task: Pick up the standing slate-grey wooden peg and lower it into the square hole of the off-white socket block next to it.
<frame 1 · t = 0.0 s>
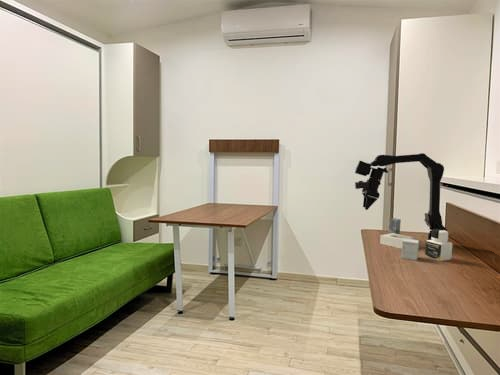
hand: (364, 208, 177), 15 cm above the table, tool pointing down, fingers open, 9 cm apart
peg: (393, 237, 182), on the table
product box: (409, 258, 145), on the table
socket block: (396, 244, 167), on the table
medicine bottle: (437, 258, 146), on the table
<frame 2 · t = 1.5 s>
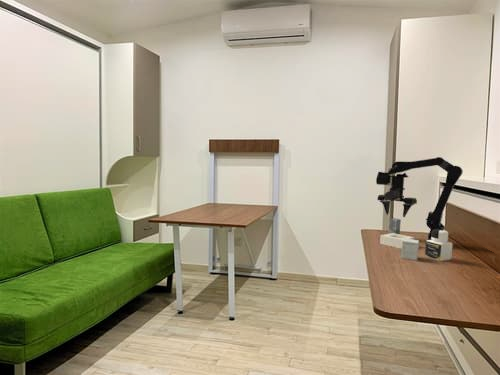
hand: (395, 215, 181), 12 cm above the table, tool pointing down, fingers open, 9 cm apart
nothing on the table moved.
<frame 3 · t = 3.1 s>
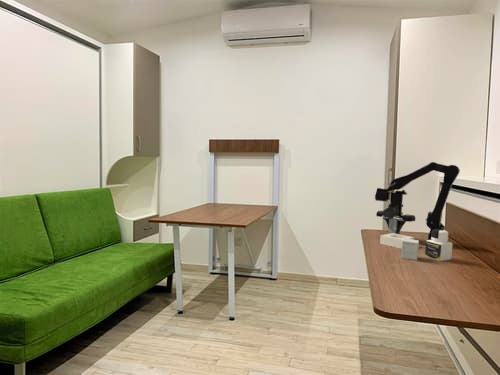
hand: (394, 232, 182), 3 cm above the table, tool pointing down, fingers closed on peg, 4 cm apart
peg: (393, 237, 182), on the table, touching gripper
everything else where it was.
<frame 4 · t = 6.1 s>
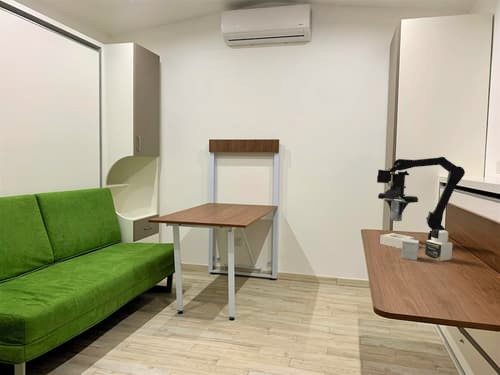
hand: (396, 214, 177), 13 cm above the table, tool pointing down, fingers closed on peg, 4 cm apart
peg: (395, 220, 178), point 10 cm above the table, touching gripper
everything else where it was.
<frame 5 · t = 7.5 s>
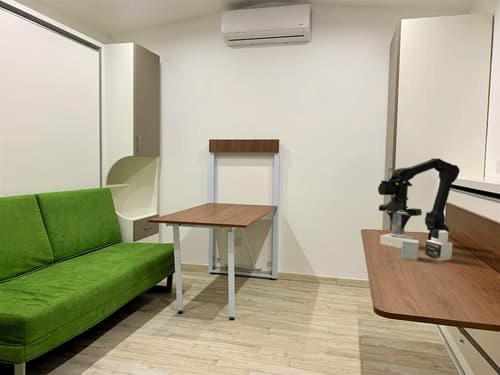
hand: (398, 227, 166), 8 cm above the table, tool pointing down, fingers closed on peg, 4 cm apart
peg: (397, 234, 167), point 5 cm above the table, touching gripper
everything else where it was.
when the fingers open (5 cm above the table, at t = 8.8 s): peg drops 2 cm, resting in socket block.
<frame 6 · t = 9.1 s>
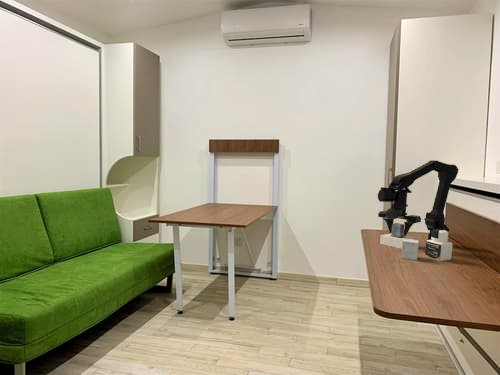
hand: (397, 234, 167), 5 cm above the table, tool pointing down, fingers open, 7 cm apart
peg: (396, 244, 167), resting in socket block
everything else where it was.
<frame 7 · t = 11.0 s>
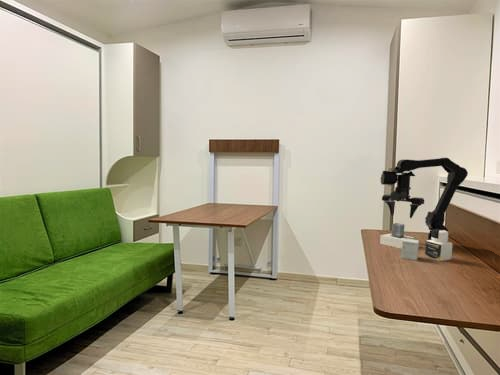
hand: (401, 216, 171), 13 cm above the table, tool pointing down, fingers open, 9 cm apart
nothing on the table moved.
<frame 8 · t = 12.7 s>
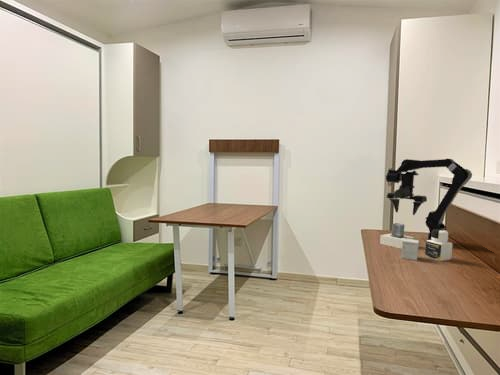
hand: (405, 213, 181), 13 cm above the table, tool pointing down, fingers open, 9 cm apart
nothing on the table moved.
at the end: peg 0.0 cm off-centre on the socket block, point 0.0 cm above the socket block's base; peg tilted 0°; the gripper is holding nothing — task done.
